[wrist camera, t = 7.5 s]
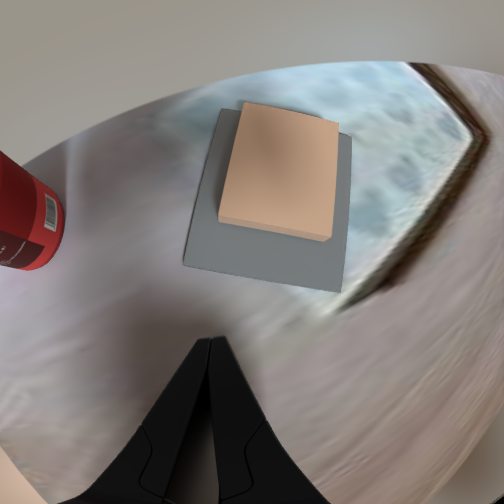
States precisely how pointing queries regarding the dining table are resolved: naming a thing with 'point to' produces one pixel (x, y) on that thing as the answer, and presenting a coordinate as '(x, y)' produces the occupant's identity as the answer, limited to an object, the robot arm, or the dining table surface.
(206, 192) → the mat
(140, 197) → the dining table surface
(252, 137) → the tile
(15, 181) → the canned food
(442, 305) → the dining table surface
